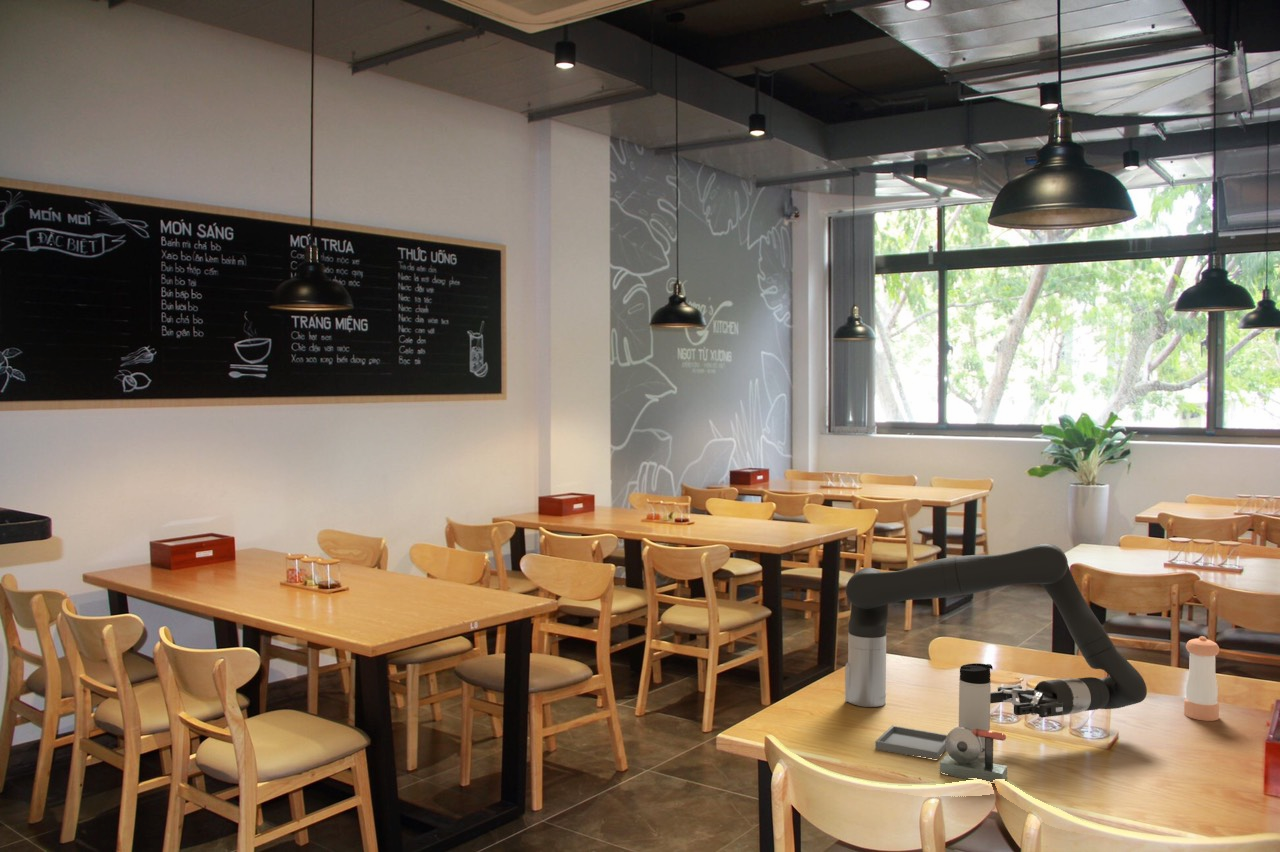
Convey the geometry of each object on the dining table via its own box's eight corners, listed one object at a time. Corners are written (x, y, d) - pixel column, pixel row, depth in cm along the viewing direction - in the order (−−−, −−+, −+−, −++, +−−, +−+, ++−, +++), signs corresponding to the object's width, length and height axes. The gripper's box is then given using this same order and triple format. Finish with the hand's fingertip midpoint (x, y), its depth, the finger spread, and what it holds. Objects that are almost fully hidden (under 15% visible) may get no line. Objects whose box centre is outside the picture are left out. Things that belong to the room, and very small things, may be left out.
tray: (875, 749, 216) (875, 741, 216) (892, 733, 226) (892, 725, 226) (936, 761, 209) (937, 752, 209) (951, 743, 219) (951, 735, 219)
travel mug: (993, 765, 207) (994, 669, 206) (959, 762, 208) (961, 667, 207) (988, 754, 213) (990, 661, 212) (956, 752, 214) (958, 659, 214)
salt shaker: (1186, 718, 236) (1187, 638, 236) (1182, 709, 243) (1183, 631, 243) (1221, 722, 234) (1222, 641, 233) (1216, 713, 240) (1217, 634, 240)
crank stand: (939, 773, 202) (940, 727, 201) (946, 766, 206) (946, 720, 206) (1002, 786, 195) (1003, 737, 195) (1008, 777, 200) (1008, 730, 199)
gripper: (1039, 671, 224) (979, 677, 219) (1087, 688, 211) (1024, 696, 205) (1039, 704, 224) (979, 711, 219) (1086, 724, 211) (1023, 732, 206)
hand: (1001, 704), depth 212 cm, fingers open, 8 cm apart
